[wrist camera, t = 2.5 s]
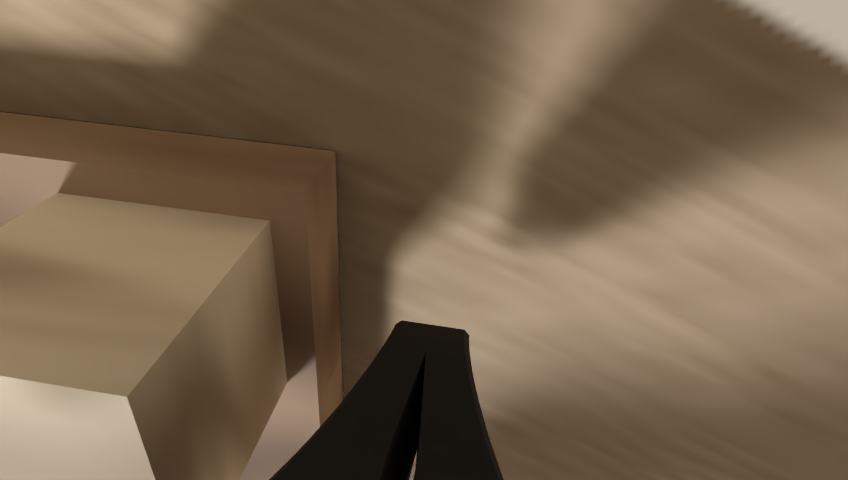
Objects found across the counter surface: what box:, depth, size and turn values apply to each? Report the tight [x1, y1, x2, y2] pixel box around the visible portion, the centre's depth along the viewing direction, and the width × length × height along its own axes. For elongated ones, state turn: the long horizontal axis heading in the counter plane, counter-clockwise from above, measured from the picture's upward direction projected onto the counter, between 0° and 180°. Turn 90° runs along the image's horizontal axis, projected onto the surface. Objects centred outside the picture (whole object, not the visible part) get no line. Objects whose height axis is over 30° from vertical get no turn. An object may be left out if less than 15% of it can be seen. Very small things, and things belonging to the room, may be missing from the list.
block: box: [0, 193, 287, 480], centre depth 10 cm, size 4×4×4 cm
